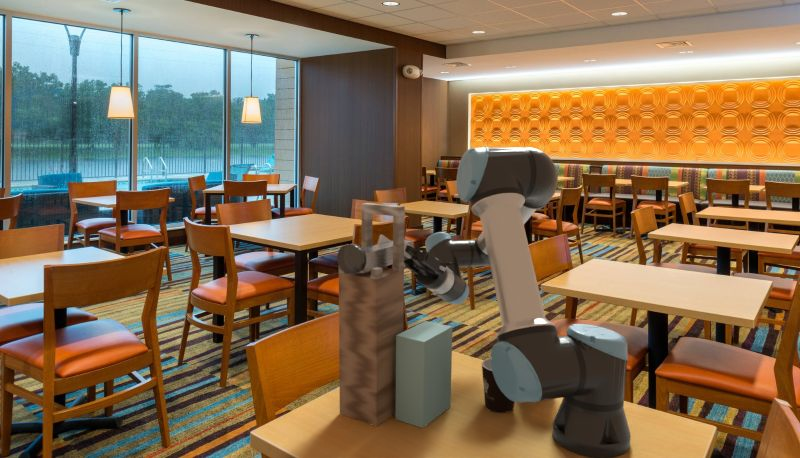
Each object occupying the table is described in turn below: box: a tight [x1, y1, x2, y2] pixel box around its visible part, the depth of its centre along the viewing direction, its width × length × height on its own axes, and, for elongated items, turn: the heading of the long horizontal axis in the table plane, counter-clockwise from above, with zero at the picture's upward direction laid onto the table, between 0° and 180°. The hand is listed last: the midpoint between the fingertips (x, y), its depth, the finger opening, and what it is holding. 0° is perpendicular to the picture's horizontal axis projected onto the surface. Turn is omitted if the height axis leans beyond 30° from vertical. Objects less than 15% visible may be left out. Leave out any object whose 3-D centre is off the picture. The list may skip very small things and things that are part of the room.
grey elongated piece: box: [336, 239, 414, 274], centre depth 129 cm, size 6×21×6 cm, turn 146°
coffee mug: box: [481, 357, 515, 414], centre depth 136 cm, size 12×9×10 cm
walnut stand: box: [338, 202, 406, 427], centre depth 129 cm, size 10×10×46 cm
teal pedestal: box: [394, 320, 453, 429], centre depth 130 cm, size 7×12×19 cm, turn 146°
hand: (388, 241), depth 131 cm, fingers closed on grey elongated piece, 4 cm apart
